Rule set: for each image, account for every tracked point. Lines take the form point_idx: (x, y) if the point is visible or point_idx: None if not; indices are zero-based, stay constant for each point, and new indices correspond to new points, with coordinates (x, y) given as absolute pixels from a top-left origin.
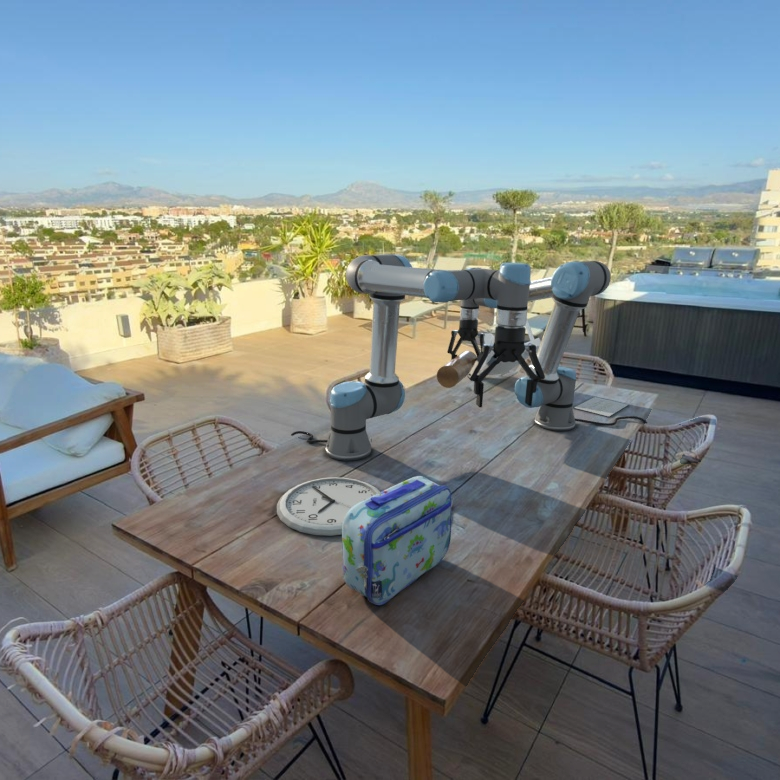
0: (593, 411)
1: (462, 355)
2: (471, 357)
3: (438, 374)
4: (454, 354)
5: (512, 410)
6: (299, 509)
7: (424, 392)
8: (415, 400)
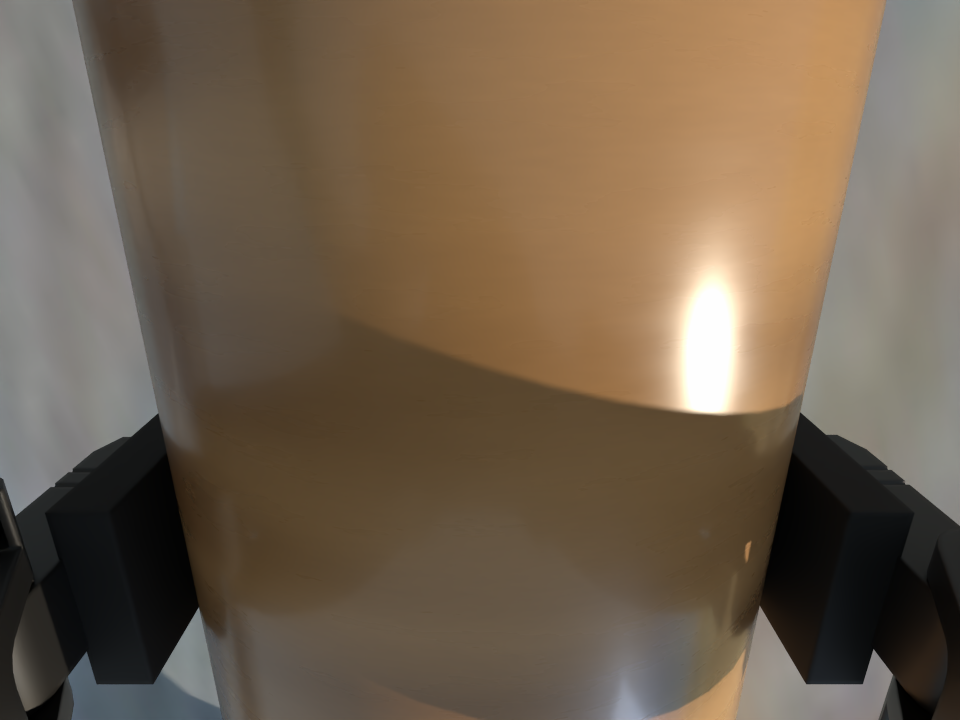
0: None
1: (480, 80)
2: (185, 431)
3: None
4: (914, 593)
5: (51, 328)
6: None
7: (891, 439)
8: (947, 185)
